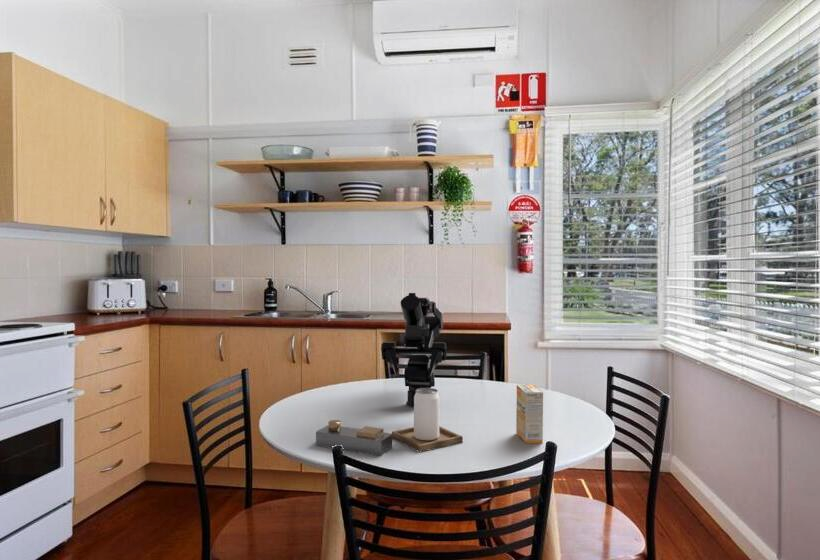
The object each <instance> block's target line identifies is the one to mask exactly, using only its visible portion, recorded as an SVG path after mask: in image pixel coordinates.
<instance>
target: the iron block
mask: <svg viewBox="0 0 820 560" xmlns="http://www.w3.org/2000/svg"><path fill="white" fill-rule="evenodd" d="M341 425H342V423H341V420H339V419H332V420H329V421H328V424H327V425H326V426H323V427H322V428H320V429H317V430H316V431H315V446H317V447H322V448H329V449H333V448H332V446H335V445H342V446H343V448H344V450H343V451H347V452H348V451H349V452H353V451H355V452H354V453H359V452H361V453H360V454H367V455H371V454H372V456H379V457H382V456H384V455H385V454H386V453H388V452H389V451H390V450H392V449H393V438H392V432H391V433H390V432H385V431H384V428H380V427H374V426H368V425H367V426H366V425H365V426H364V427H362V428H355V427H347V426H341ZM387 451H388V452H387ZM384 453H385V454H384ZM383 454H384V455H383Z"/></svg>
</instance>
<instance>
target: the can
mask: <svg viewBox="0 0 820 560" xmlns="http://www.w3.org/2000/svg"><path fill="white" fill-rule="evenodd" d="M439 426H440V394H439V390H438V389H436V388H433V387H431V388H420V389H417V390H416V393H415V396H414V407H413V427H414V437H415V438H416V439H418V440H421V441H433V440H436V439H437V438H438V437H439Z"/></svg>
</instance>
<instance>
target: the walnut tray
mask: <svg viewBox="0 0 820 560" xmlns="http://www.w3.org/2000/svg"><path fill="white" fill-rule="evenodd" d="M391 434H392V439H395V440H397V441H398V442H400V443H402V444H403V443H404V445H405V444H406V445H405V446H407V445H408V446H407V447H409V448H411V447H412V448H411V449H413V448H414V449H413V450H415V449H416V450H418V451H419V452H418V451H417V452H418V453H421V452H420V451H422V452H425V451H424V450H427V451H429V450H428V449H431V450H434V449H433V448H436V449H439V448H438V447H440V448H443V447H442V446H445V447H448V445H449V446H454V445H457V444H462V443H463V442H464V441H463V440H464V439H463V435H460V434H458V433H455V432H454V431H451V430H449V429H446V428H444V427H442V426H440V425H439V437H438V438H437V439H436V440H433V441H421V440H418V439H416V438H415V437H414V426H412V427H408V428H402V429H398V430H397V429H396V430H392V431H391ZM416 450H415V451H416Z"/></svg>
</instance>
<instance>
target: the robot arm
mask: <svg viewBox="0 0 820 560" xmlns="http://www.w3.org/2000/svg"><path fill="white" fill-rule="evenodd" d="M400 307H401V311H402V316H403V319H404V320H405V324H404V325H405V327H404V328H405V329H404V332H405V333H404V335H403V344H404V345H401V346H400V345H399V346H396V341H383V342H382V343H381V348H380V351H381V360H384V361H386V362H387V363H390V366H392V369H393V372H394V374H395V377H398V376H399V375H398V374H399V373H398V371H399V370H398V360H397V355H402V354H403V355H407V354H408V355H410V356H409V358H408V361H407V365H406V366H405V367H404V370H403V372H404V373H403V374H404V386H405V387H408V390H407V401H406V402H405V404H406V405H408V406H411V407H413V408H414V396H415V393H416V390H417V389H420V388H433V387H435V386H436V385H435V384H436V382H435V373H434V370H435V369H436V367H437V365H438V364H441V363H442V362H444V361H446V360H447V354H448V352H447V349H448V348H447V343H445V342H444V341H443V342H441V341H434V340H435V338H437V337H439V336H440V333H441V330H443V329H444V322H443V321H444V320H443V314H442V312H441V311H440V310H439V309H438V308H437V303H436V302H435V301H433V300H432V301H431V300H430V299H429V298H428V297H418V296H417V294H416V292H409V293H408V295H406V296H404V297H403V298H402V299H401V300H400ZM430 314H433V315H430Z"/></svg>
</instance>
